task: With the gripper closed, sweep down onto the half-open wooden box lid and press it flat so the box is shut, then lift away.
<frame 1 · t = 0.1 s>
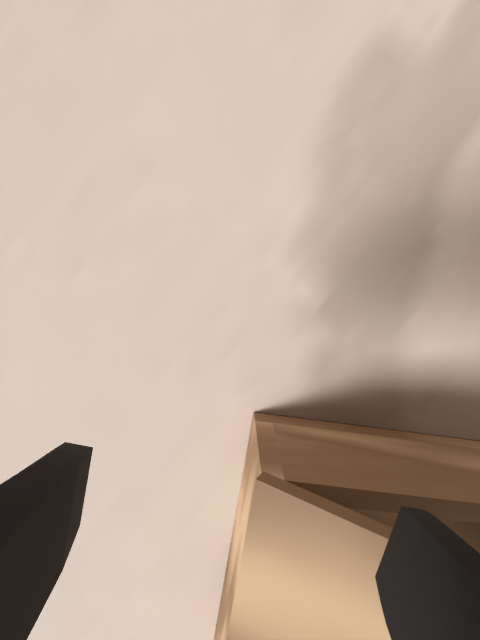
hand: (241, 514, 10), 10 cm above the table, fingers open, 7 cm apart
wooden box: (363, 571, 23), on the table
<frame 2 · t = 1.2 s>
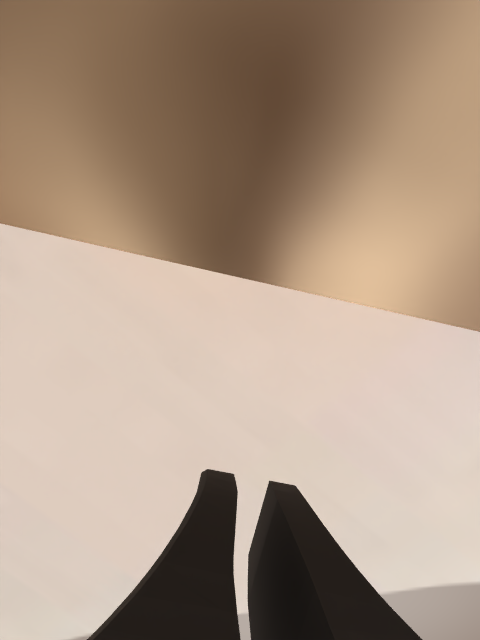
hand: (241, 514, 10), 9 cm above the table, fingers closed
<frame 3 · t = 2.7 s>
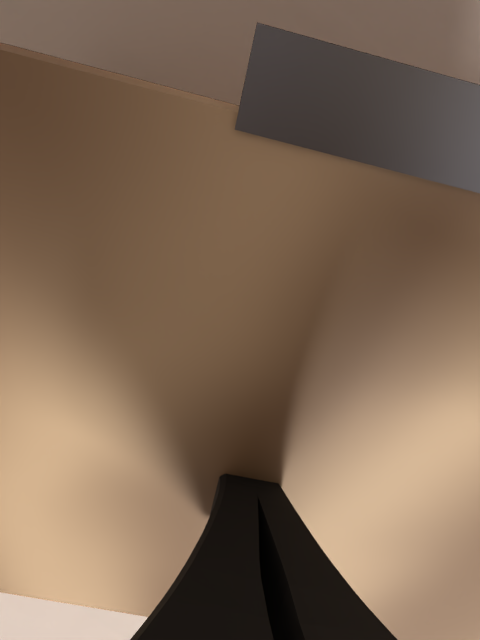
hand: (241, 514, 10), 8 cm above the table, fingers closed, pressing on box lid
box lid: (259, 455, 10), point 8 cm above the table, hinge at 18.2°, touching gripper
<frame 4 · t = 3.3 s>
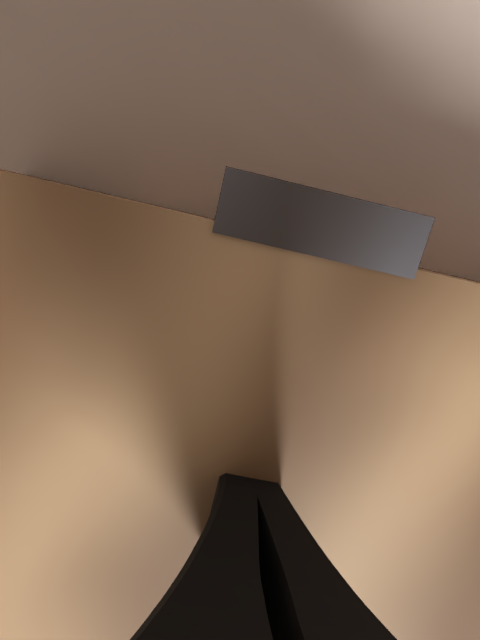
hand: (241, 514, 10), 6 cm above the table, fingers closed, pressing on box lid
box lid: (238, 523, 10), point 5 cm above the table, hinge at 0.3°, touching gripper
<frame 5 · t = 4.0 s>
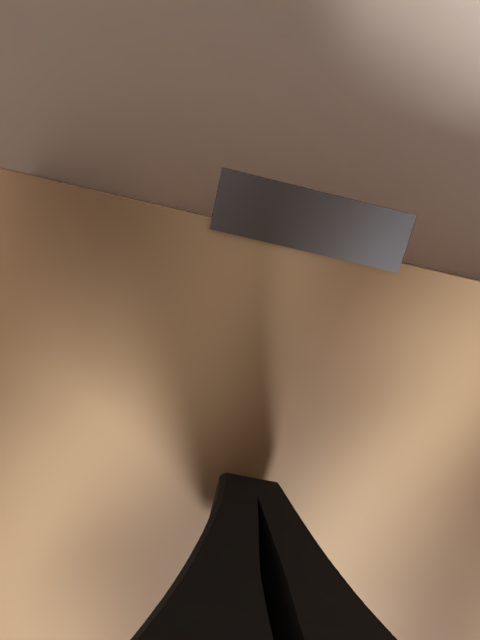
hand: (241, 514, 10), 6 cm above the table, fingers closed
box lid: (234, 504, 11), point 5 cm above the table, hinge at 0.2°
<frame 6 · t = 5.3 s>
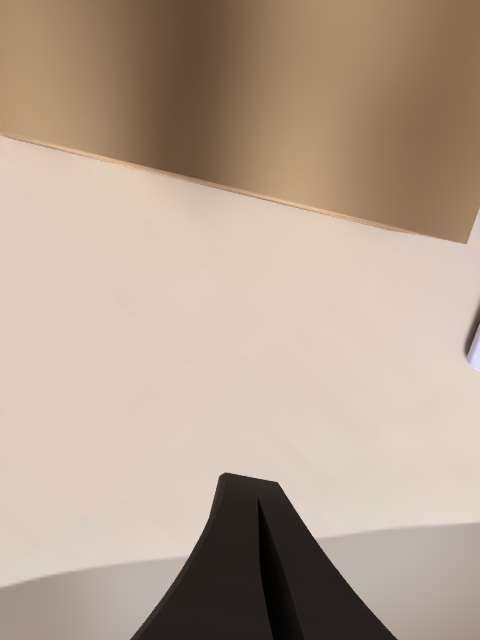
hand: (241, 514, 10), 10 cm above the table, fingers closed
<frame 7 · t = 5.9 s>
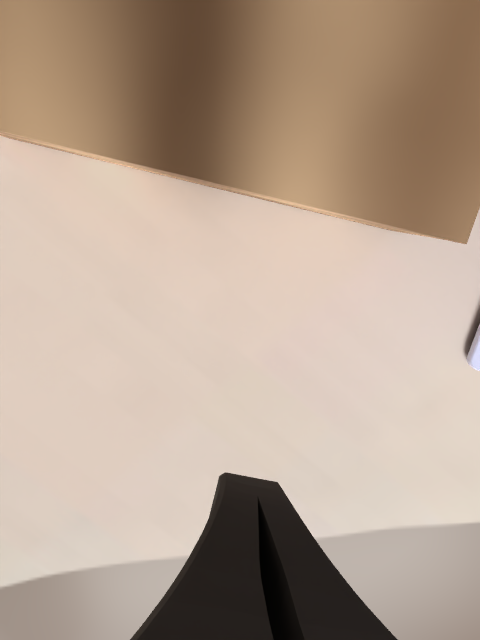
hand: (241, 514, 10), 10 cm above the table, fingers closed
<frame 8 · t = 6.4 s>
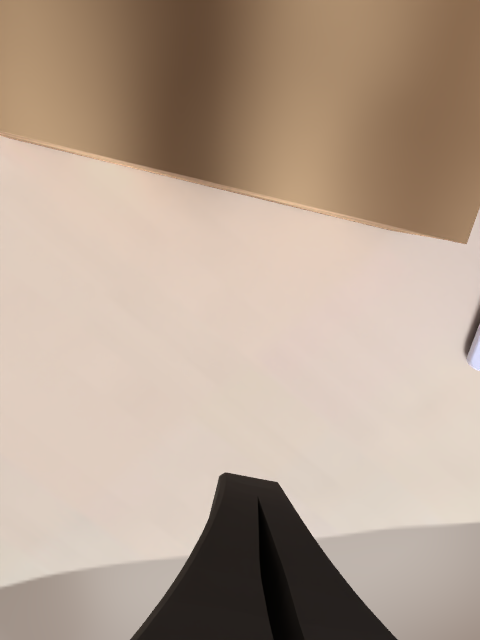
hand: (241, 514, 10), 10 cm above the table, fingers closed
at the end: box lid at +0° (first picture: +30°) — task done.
